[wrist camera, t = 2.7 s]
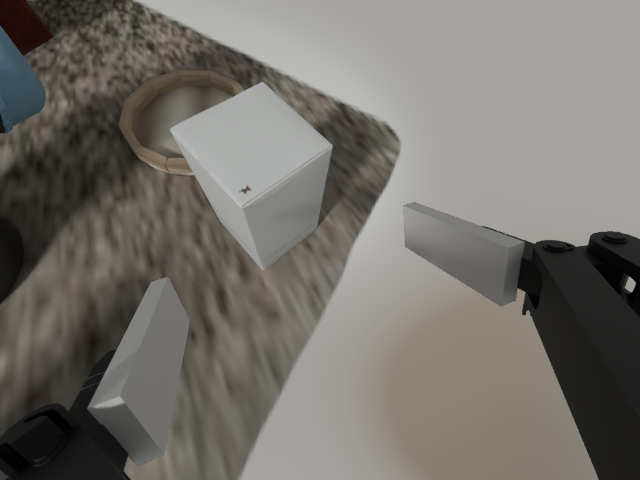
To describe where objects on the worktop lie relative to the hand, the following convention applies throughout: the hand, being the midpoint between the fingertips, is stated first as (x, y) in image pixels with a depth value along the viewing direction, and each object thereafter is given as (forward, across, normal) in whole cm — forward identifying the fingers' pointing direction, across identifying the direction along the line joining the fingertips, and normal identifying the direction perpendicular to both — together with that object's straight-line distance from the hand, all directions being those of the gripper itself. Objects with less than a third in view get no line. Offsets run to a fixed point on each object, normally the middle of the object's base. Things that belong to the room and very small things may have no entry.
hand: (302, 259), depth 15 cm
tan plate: (+32, -6, +9) cm, 34 cm away
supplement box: (+20, 0, -4) cm, 20 cm away
